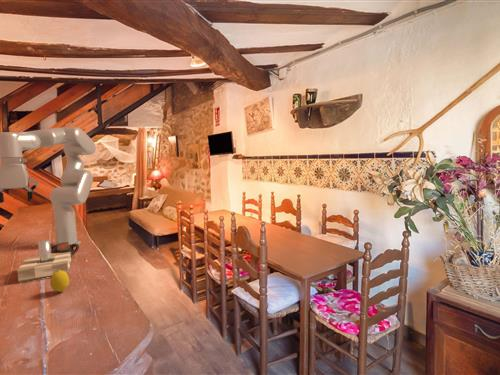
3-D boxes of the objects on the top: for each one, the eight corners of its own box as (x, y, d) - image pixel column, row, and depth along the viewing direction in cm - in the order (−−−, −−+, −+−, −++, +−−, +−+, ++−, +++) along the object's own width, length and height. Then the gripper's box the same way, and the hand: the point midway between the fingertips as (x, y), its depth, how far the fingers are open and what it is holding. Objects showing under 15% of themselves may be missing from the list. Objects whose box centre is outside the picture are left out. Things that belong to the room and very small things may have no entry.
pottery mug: (51, 263, 134) (45, 246, 136) (57, 266, 143) (52, 250, 144) (80, 252, 139) (74, 236, 141) (84, 256, 147) (79, 240, 149)
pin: (41, 269, 123) (38, 240, 122) (53, 267, 125) (50, 239, 124) (40, 272, 120) (37, 243, 119) (52, 270, 122) (49, 241, 120)
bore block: (27, 269, 126) (26, 258, 126) (71, 262, 133) (70, 251, 133) (18, 283, 112) (17, 270, 111) (68, 274, 119) (67, 262, 119)
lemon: (66, 287, 107) (64, 265, 107) (72, 291, 104) (70, 269, 103) (48, 293, 103) (46, 270, 102) (54, 297, 100) (52, 274, 99)
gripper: (38, 161, 134) (41, 198, 136) (-12, 162, 127) (-7, 202, 128) (35, 161, 128) (38, 200, 129) (-18, 162, 120) (-13, 204, 122)
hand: (16, 201), depth 129 cm, fingers open, 9 cm apart
